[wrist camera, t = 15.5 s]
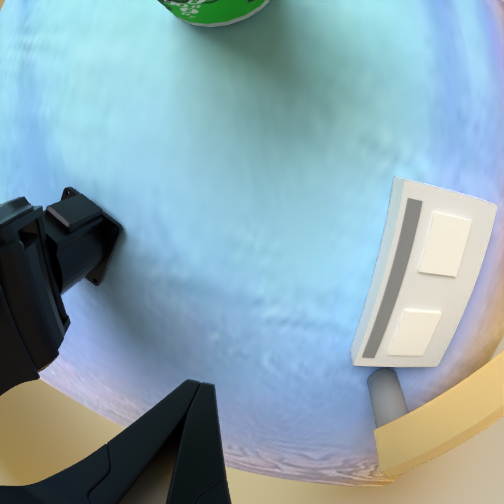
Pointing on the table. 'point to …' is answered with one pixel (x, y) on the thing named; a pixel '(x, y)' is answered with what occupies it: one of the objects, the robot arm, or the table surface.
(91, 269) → the robot arm
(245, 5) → the soda can
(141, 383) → the table surface
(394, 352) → the white flat block
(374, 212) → the table surface
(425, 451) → the bar
